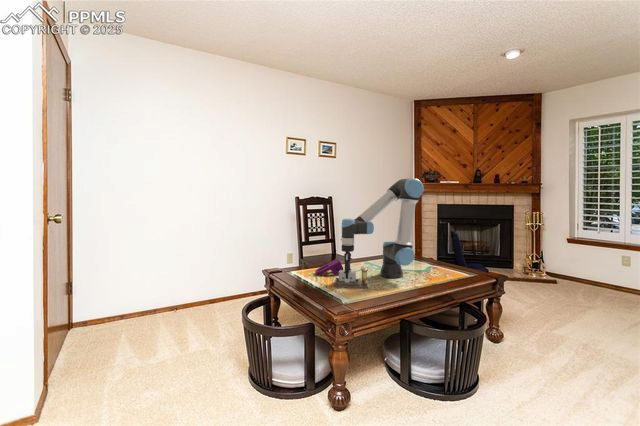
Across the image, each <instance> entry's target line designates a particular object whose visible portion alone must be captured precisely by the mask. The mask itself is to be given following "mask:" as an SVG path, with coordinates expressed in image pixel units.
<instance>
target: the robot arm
mask: <svg viewBox="0 0 640 426" xmlns="http://www.w3.org/2000/svg"><path fill="white" fill-rule="evenodd" d="M424 190H425V187H424V184H423V183H422V181H421V180H419V179H418V178H412V177H409V178H401V179H399V180H397V181H395V182H394V183H393V184H392V185H391V186H389V188H388V189H387V190H386V192H385V193H384V194H383V195H382V196H380V197H379V199H377V200H376V201H375V202H373V204H371V205H370V206H369V207H368V208H366V209H365V210H364V211H363V212H362V213H360V215H359V216H357V217H356V218H343V219H342V221H341V238H340V241H341V251H342V252H344V253H343V254H344V255H343V257H344V270H345V271H344V273H345V283H349V270H352V268H351V260H352V253H351V252H354V251H355V235H371V234H373V233H374V230H375V226H374V224H373V222H372V220H374V219H375V218H377V216H379V214H381V213H382V212H384V211H385V210H386V209H387V208H388V207H389V206H390V205H391V204H393V202H397V201H399V200H400V201H401V202H400V203H401V204H400V210H399V211H400V212H399V218H398V219H399V220H398V227H397V235H396V240H393V241H392V240H390V241H389V240H388V241H384V242H383V243H382V265H381V267H380V271H379V274H380V275H379V276H381V277H383V278H388V279H399V278H402V277H404V272H403V271H404V270H403V268H402V266H403V267H405V266H409V265H411V264H412V263H413V262H414V260H415V251H414V250H413V246H414V244H413V243H412V234H413V226H414V218H415V213H416V205H417V203H418V202H419V200H420V197H421V196H422V195H423V193H424Z"/></svg>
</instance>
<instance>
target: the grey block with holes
mask: <svg viewBox="0 0 640 426" xmlns="http://www.w3.org/2000/svg"><path fill="white" fill-rule="evenodd" d="M344 271H345V269H343V270H339V275H338V278H339V282H345V273H344ZM356 279H357V271H356V270H352V269H351V270H349V283H356Z"/></svg>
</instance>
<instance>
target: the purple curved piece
mask: <svg viewBox="0 0 640 426" xmlns="http://www.w3.org/2000/svg"><path fill="white" fill-rule="evenodd" d="M339 270H344V266H343V265H342V263H341V261H340V260H339V258H336V259H334V260H331V261H329V262H327V263H326V264H324V265H321V266H320V267H318V268H317V269H316V270H315V271H314V272H315V274H316V275H317V276H321V275H324V274H325V273H327V272H329V271H331V272H332V274H333V275H334V276H339Z"/></svg>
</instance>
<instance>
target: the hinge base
mask: <svg viewBox="0 0 640 426" xmlns="http://www.w3.org/2000/svg"><path fill="white" fill-rule="evenodd" d="M360 271H361V278H356V283H345V282H339V277H336V278H335V279H334V282H333V287H334V288H346V287H351V288H352V289H367V290H368V289H369V280H368V271H369V268H367V267H361V268H360ZM351 288H350V289H351Z"/></svg>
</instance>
